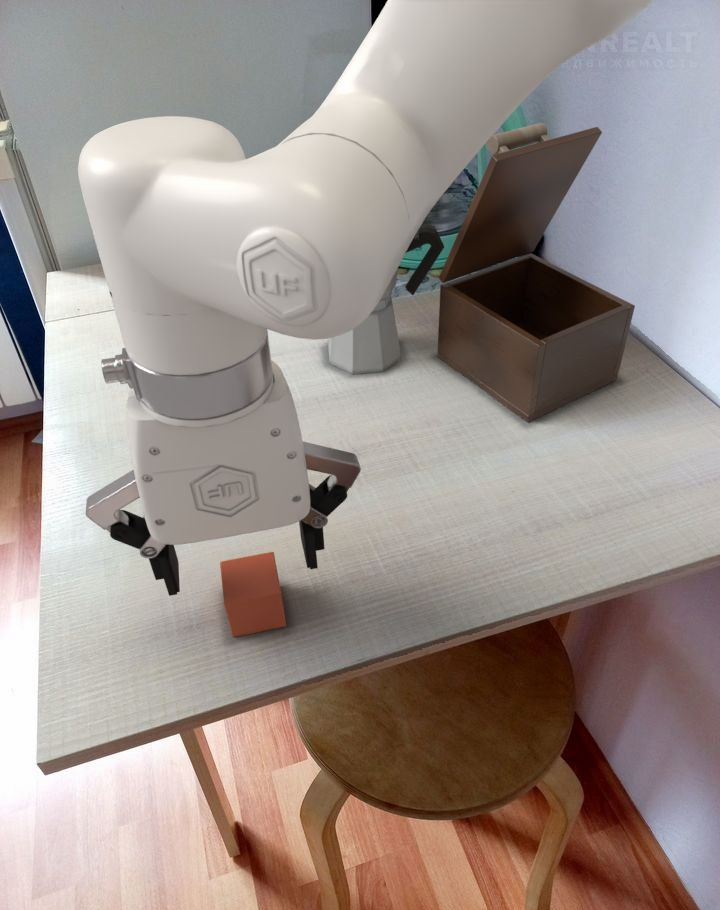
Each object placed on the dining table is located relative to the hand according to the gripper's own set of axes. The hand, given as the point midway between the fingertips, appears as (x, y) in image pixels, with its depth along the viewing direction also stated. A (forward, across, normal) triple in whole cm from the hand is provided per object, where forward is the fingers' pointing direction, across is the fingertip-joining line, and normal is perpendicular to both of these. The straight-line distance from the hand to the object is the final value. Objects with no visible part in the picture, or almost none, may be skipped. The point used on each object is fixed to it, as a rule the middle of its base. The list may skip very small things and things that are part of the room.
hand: (242, 566), depth 50 cm
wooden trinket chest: (+5, +32, +25) cm, 41 cm away
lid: (-11, +31, +28) cm, 43 cm away
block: (+5, 0, 0) cm, 5 cm away
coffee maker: (+5, +17, +32) cm, 37 cm away
